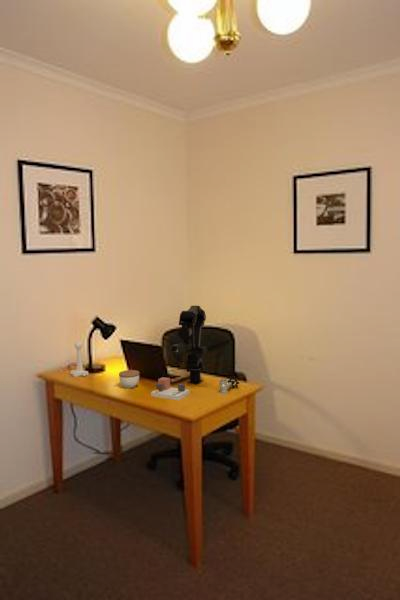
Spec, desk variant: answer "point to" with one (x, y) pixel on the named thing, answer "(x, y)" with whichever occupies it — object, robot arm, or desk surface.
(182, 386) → the lever
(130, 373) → the lidded jar
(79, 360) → the joystick
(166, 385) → the block
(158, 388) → the lever tagged
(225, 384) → the valve
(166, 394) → the panel
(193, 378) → the robot arm
